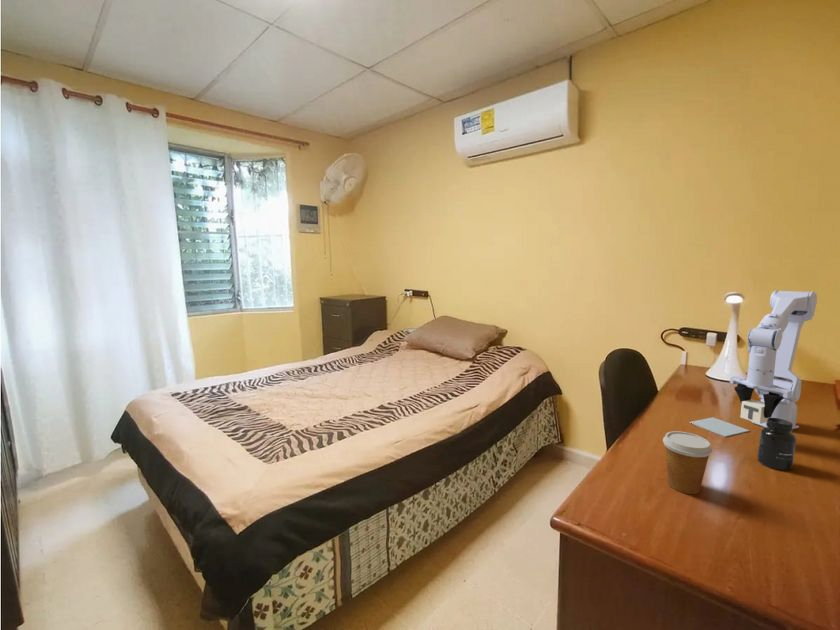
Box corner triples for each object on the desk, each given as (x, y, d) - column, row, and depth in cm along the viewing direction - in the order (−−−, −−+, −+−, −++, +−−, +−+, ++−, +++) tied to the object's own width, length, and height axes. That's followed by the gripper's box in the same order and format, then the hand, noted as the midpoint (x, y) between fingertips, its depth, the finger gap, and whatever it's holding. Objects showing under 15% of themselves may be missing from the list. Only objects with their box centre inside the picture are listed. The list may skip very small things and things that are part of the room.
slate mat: (712, 418, 128) (712, 417, 128) (749, 431, 118) (749, 430, 118) (689, 422, 125) (689, 422, 125) (725, 437, 114) (725, 436, 114)
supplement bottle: (785, 474, 94) (791, 428, 92) (752, 461, 100) (756, 419, 98) (797, 467, 97) (802, 423, 96) (764, 455, 103) (768, 413, 102)
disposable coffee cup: (710, 503, 83) (715, 453, 82) (660, 490, 88) (663, 442, 87) (705, 482, 91) (710, 435, 90) (659, 471, 96) (662, 427, 95)
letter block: (751, 414, 114) (752, 399, 113) (771, 421, 109) (772, 404, 109) (739, 417, 113) (741, 401, 112) (759, 423, 108) (761, 407, 107)
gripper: (724, 364, 115) (720, 406, 116) (782, 377, 101) (777, 425, 103) (740, 362, 117) (736, 403, 119) (799, 374, 103) (793, 421, 105)
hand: (756, 413), depth 111 cm, fingers closed on letter block, 5 cm apart
